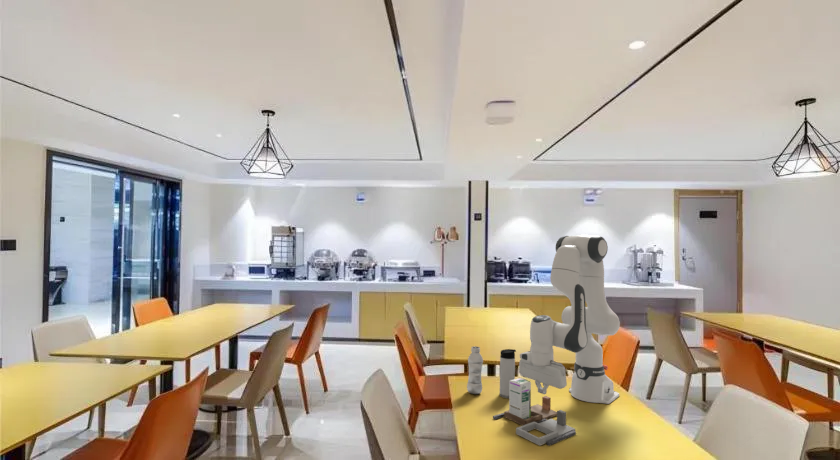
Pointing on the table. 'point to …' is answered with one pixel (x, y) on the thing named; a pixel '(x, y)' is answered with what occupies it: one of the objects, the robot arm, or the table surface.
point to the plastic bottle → (475, 371)
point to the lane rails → (549, 440)
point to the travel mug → (506, 370)
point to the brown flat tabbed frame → (534, 413)
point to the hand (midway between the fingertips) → (542, 393)
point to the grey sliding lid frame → (546, 429)
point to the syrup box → (520, 398)
